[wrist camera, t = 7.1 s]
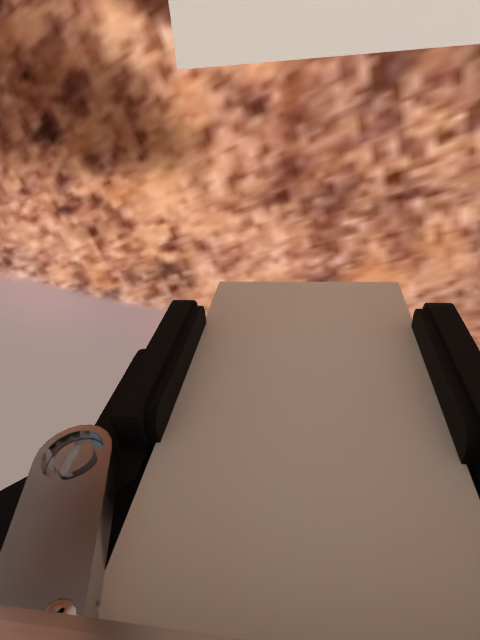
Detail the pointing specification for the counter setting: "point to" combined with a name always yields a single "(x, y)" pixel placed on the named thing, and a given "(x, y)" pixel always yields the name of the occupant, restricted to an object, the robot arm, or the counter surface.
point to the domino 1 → (314, 28)
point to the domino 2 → (303, 481)
